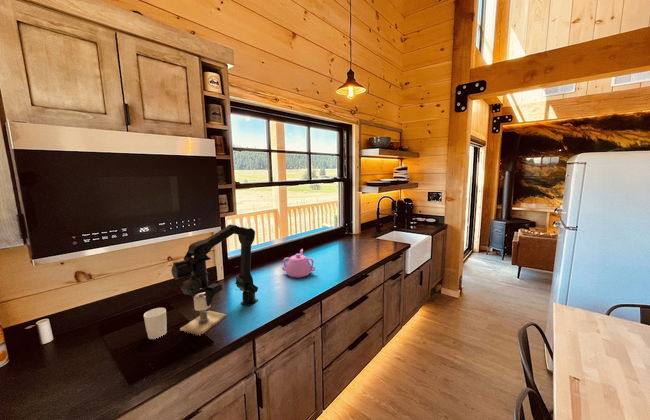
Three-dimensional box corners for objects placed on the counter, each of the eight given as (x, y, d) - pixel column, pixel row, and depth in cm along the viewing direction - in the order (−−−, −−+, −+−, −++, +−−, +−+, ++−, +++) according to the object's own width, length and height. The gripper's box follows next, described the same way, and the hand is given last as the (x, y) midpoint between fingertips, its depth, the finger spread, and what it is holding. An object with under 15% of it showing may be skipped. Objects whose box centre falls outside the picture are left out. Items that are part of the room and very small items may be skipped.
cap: (202, 302, 122) (201, 290, 121) (214, 304, 120) (213, 292, 119) (191, 309, 116) (189, 297, 115) (202, 311, 114) (201, 299, 113)
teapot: (317, 267, 187) (317, 248, 185) (313, 279, 165) (312, 258, 163) (287, 266, 189) (286, 248, 187) (279, 279, 168) (278, 258, 166)
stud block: (208, 312, 129) (207, 302, 128) (226, 316, 125) (225, 305, 124) (180, 330, 114) (178, 319, 113) (199, 335, 110) (198, 324, 109)
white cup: (164, 326, 117) (161, 305, 116) (171, 333, 112) (168, 311, 111) (143, 335, 111) (140, 313, 110) (150, 342, 106) (147, 319, 105)
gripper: (167, 275, 112) (171, 310, 114) (201, 281, 105) (205, 317, 107) (189, 266, 122) (192, 298, 124) (221, 271, 115) (224, 304, 118)
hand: (202, 304), depth 118 cm, fingers closed on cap, 6 cm apart
